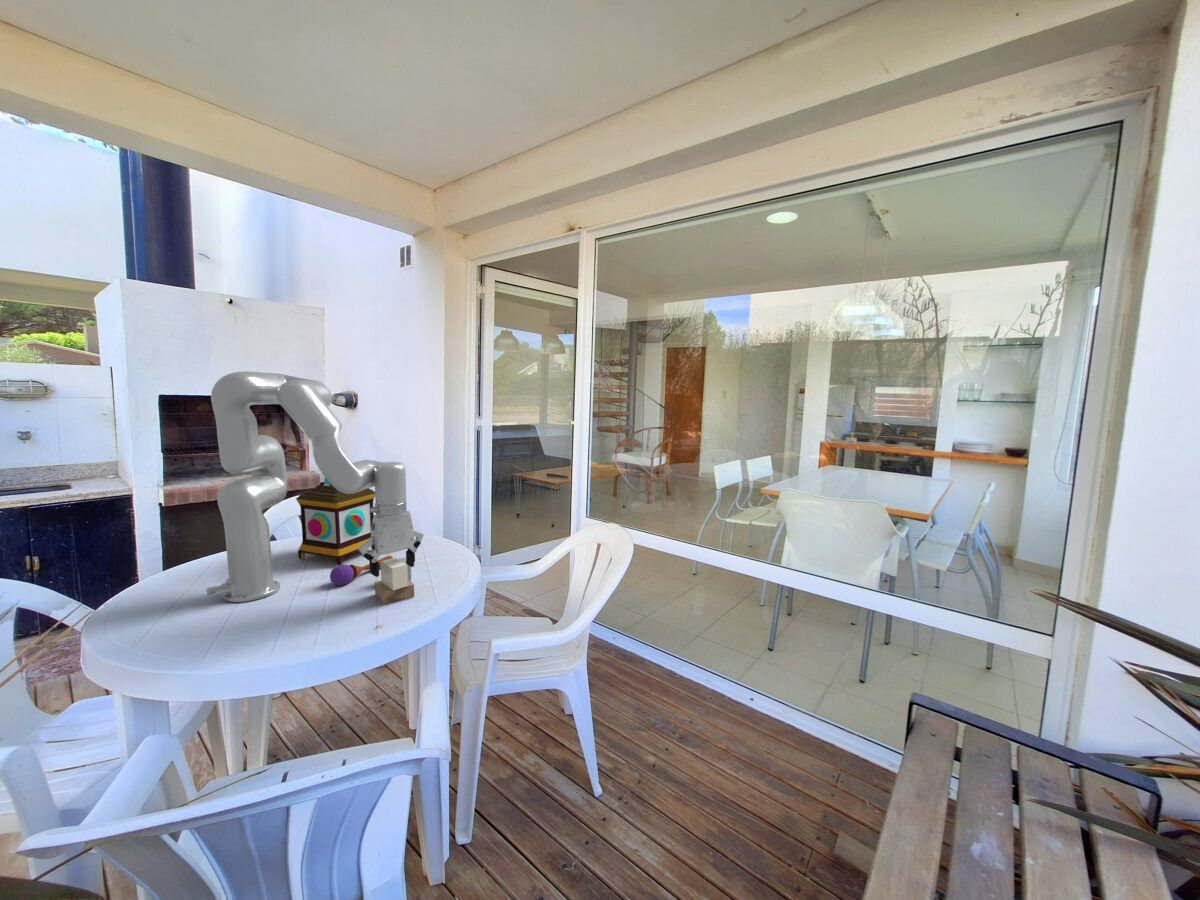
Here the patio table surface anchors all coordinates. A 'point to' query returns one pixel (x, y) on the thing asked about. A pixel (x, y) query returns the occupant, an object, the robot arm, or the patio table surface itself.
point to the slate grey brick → (407, 568)
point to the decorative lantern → (334, 521)
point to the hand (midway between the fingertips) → (393, 570)
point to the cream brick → (394, 573)
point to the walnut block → (393, 593)
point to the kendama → (350, 572)
